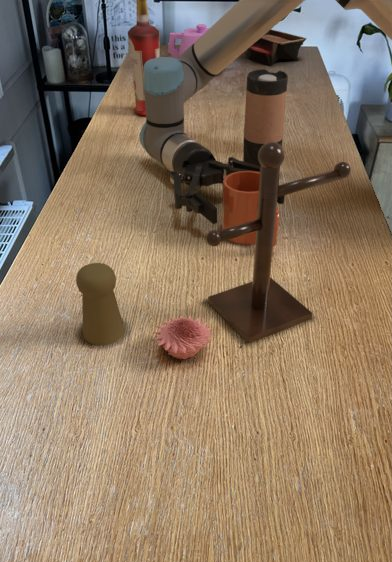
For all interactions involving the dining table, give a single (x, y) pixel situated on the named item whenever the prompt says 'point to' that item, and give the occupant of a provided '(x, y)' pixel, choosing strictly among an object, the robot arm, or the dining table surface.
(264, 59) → the dark brown boxy piece
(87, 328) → the olive brown pawn
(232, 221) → the mug
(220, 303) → the mug tree
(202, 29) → the teapot
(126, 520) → the dining table surface
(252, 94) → the travel mug
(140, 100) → the liquor
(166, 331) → the flower
